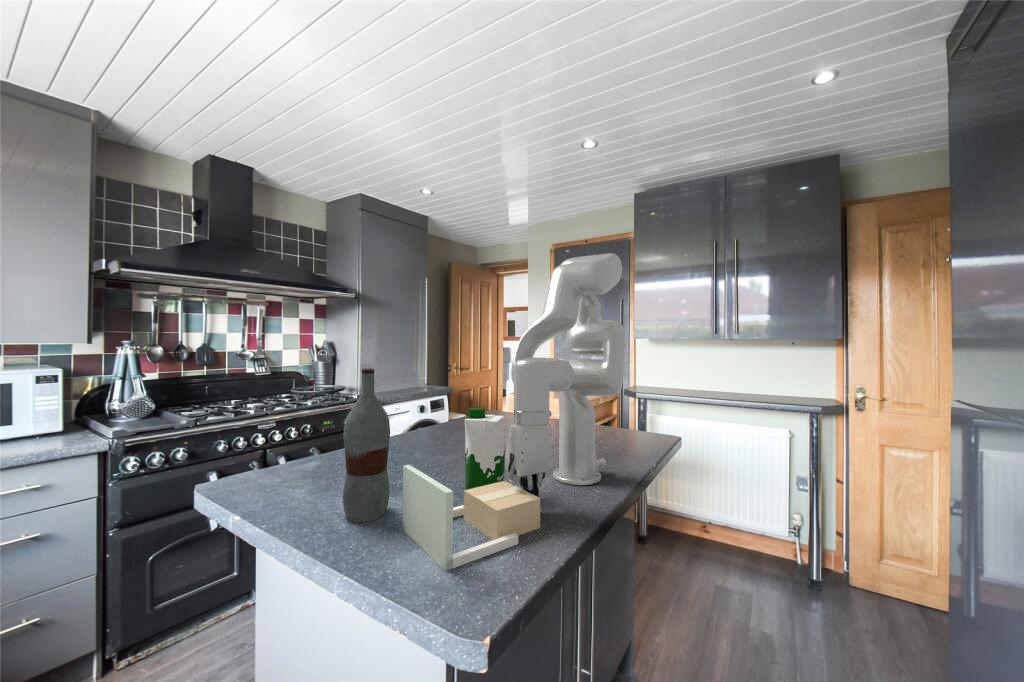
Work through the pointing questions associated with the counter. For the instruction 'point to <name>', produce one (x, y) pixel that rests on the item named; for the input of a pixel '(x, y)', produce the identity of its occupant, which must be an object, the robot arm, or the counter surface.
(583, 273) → the robot arm
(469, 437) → the milk carton
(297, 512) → the counter surface
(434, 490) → the display stand
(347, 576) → the counter surface
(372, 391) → the bottle
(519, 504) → the kraft carton
